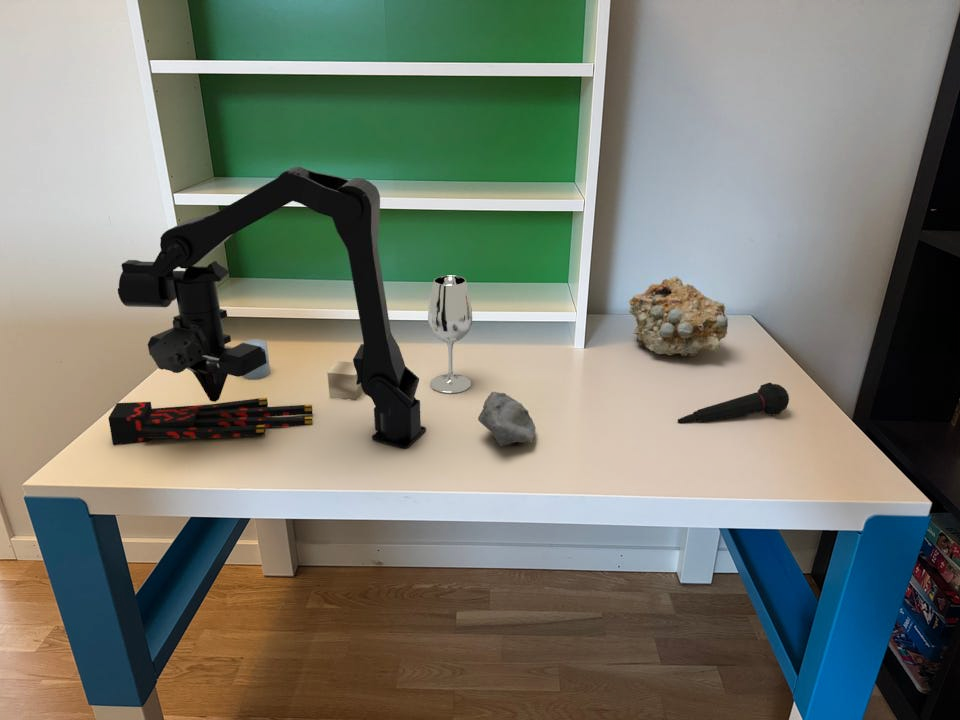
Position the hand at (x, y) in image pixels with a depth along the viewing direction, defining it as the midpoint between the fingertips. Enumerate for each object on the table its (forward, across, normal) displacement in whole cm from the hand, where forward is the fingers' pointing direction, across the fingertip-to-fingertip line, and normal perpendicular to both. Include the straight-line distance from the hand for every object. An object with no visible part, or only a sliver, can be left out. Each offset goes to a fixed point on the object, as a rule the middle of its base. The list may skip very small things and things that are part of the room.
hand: (214, 400), depth 109 cm
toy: (+6, 0, 0) cm, 6 cm away
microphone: (+6, +74, +42) cm, 85 cm away
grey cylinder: (+5, -9, +19) cm, 22 cm away
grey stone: (+6, +43, +17) cm, 46 cm away
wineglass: (+6, +26, +31) cm, 41 cm away
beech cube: (+5, +11, +20) cm, 23 cm away
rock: (+6, +60, +66) cm, 89 cm away
